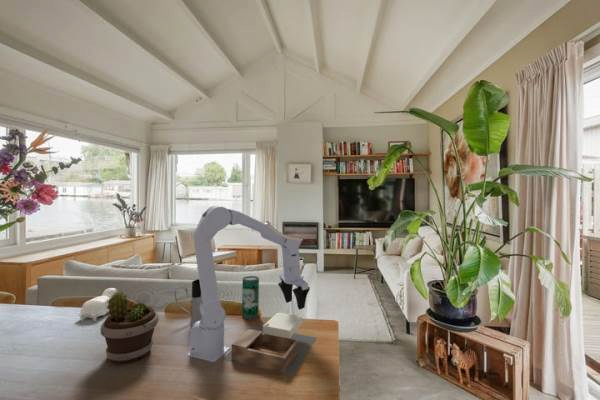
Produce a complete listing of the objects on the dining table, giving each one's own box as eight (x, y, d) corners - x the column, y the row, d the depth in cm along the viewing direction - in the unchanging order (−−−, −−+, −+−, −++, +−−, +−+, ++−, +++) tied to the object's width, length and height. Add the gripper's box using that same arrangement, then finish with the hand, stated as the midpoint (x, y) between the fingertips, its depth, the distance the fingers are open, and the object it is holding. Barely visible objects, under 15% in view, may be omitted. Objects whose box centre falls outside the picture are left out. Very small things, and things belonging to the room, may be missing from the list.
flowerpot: (160, 338, 92) (161, 277, 92) (154, 363, 78) (155, 292, 78) (108, 345, 87) (109, 281, 87) (92, 374, 72) (93, 298, 72)
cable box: (231, 360, 79) (231, 344, 79) (249, 343, 88) (249, 329, 88) (284, 373, 73) (285, 356, 73) (297, 354, 83) (298, 338, 83)
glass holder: (213, 324, 102) (213, 284, 102) (171, 328, 99) (172, 286, 99) (214, 315, 110) (215, 277, 110) (176, 318, 107) (177, 279, 107)
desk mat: (221, 360, 79) (221, 359, 79) (258, 327, 100) (258, 326, 100) (292, 378, 72) (292, 376, 72) (316, 338, 93) (316, 337, 93)
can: (240, 318, 108) (240, 279, 108) (245, 312, 114) (246, 275, 114) (255, 319, 107) (255, 280, 107) (259, 313, 113) (260, 276, 113)
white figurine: (101, 327, 105) (126, 300, 119) (95, 310, 102) (122, 283, 116) (80, 326, 106) (107, 299, 119) (73, 309, 102) (102, 283, 116)
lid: (289, 338, 83) (289, 330, 83) (262, 333, 86) (263, 325, 86) (302, 323, 93) (302, 315, 93) (277, 319, 96) (277, 311, 96)
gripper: (314, 267, 91) (317, 307, 92) (289, 259, 103) (292, 295, 103) (296, 272, 87) (300, 314, 88) (273, 264, 99) (276, 301, 99)
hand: (295, 304), depth 95 cm, fingers open, 7 cm apart
